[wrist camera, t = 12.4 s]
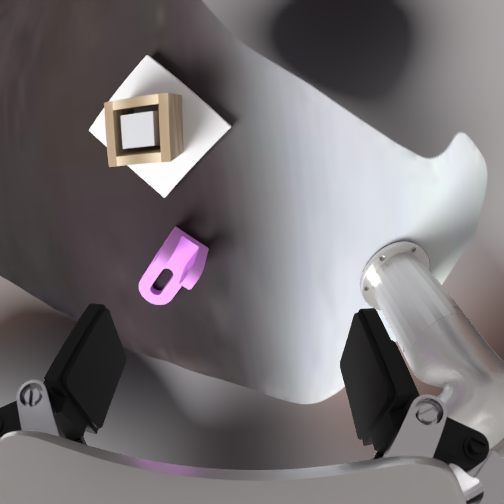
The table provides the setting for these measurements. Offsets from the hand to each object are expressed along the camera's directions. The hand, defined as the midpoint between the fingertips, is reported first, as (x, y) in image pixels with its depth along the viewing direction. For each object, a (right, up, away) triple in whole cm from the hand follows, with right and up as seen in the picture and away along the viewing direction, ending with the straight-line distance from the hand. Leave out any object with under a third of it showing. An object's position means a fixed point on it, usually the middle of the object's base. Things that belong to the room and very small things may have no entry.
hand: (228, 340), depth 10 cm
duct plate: (-11, +19, +21) cm, 30 cm away
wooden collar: (-11, +18, +20) cm, 29 cm away
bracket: (-11, +1, +31) cm, 33 cm away
